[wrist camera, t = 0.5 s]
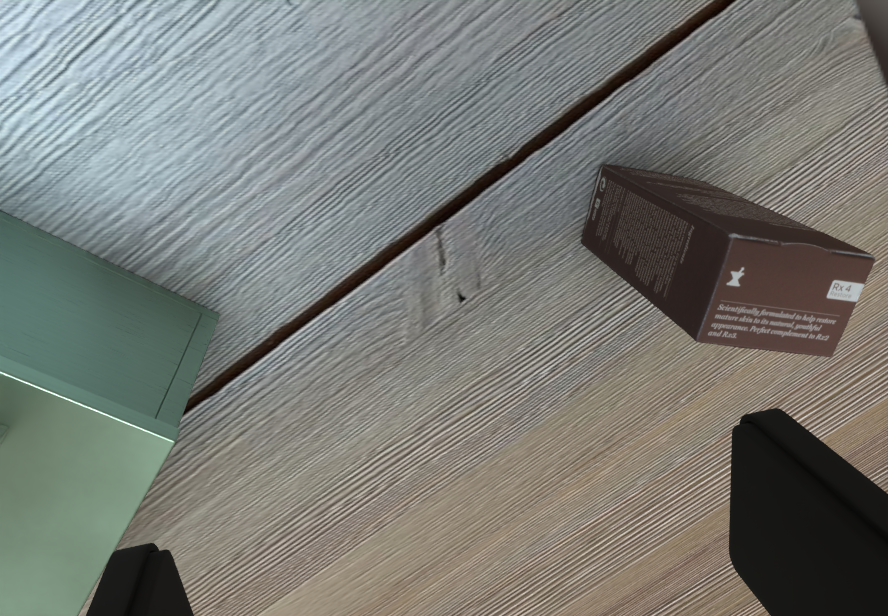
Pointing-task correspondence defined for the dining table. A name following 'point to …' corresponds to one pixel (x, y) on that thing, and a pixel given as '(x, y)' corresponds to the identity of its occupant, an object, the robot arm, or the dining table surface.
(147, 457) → the bin lid
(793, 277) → the box
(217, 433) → the dining table surface
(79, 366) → the trash can
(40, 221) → the dining table surface
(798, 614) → the robot arm
